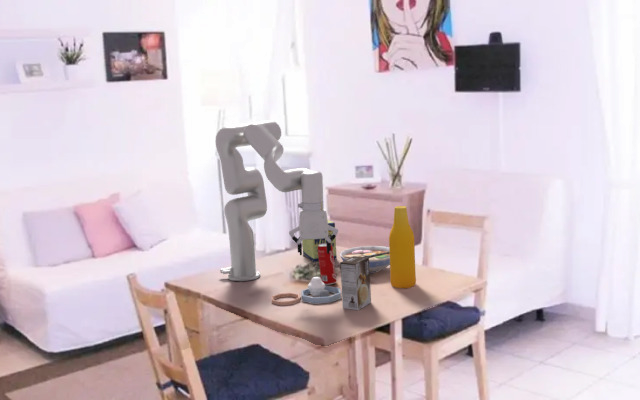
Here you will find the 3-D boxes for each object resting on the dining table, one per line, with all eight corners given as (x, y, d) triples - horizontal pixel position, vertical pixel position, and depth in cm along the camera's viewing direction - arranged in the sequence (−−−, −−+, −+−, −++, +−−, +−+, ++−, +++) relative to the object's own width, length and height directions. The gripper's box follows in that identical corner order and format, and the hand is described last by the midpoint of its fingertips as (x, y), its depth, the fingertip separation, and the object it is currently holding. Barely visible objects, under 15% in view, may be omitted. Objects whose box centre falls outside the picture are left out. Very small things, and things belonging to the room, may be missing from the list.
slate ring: (302, 304, 268) (301, 298, 268) (301, 292, 282) (300, 287, 281) (342, 301, 269) (341, 296, 268) (339, 290, 282) (338, 284, 282)
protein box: (313, 262, 324) (311, 225, 321) (302, 254, 338) (300, 219, 335) (337, 259, 327) (335, 222, 324) (325, 251, 341) (323, 216, 339)
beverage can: (335, 285, 289) (333, 246, 286) (317, 285, 290) (315, 246, 287) (337, 280, 294) (335, 242, 292) (321, 280, 296) (318, 242, 293)
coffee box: (355, 300, 270) (353, 255, 267) (371, 302, 266) (369, 257, 263) (341, 308, 262) (339, 262, 259) (358, 310, 258) (356, 263, 256)
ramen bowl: (378, 259, 322) (377, 240, 320) (412, 271, 302) (412, 250, 301) (327, 270, 309) (326, 250, 308) (359, 283, 290) (358, 261, 288)
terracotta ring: (271, 305, 269) (271, 302, 268) (271, 297, 278) (271, 294, 278) (300, 303, 269) (300, 300, 269) (299, 295, 279) (299, 292, 279)
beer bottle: (404, 280, 291) (401, 203, 286) (421, 284, 283) (418, 206, 278) (385, 285, 286) (382, 207, 280) (402, 290, 278) (399, 210, 273)
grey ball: (319, 301, 270) (319, 291, 269) (319, 298, 274) (318, 288, 273) (330, 301, 270) (329, 291, 270) (329, 298, 274) (328, 288, 273)
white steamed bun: (325, 292, 281) (324, 273, 280) (326, 297, 275) (324, 278, 274) (308, 293, 281) (307, 274, 280) (308, 298, 275) (307, 279, 273)
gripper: (288, 209, 268) (290, 257, 271) (338, 207, 269) (339, 255, 272) (287, 205, 275) (289, 252, 279) (336, 203, 276) (338, 249, 280)
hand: (314, 253), depth 275 cm, fingers open, 9 cm apart
